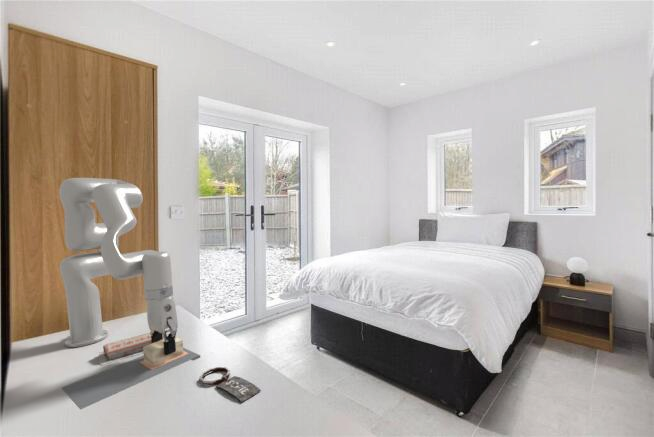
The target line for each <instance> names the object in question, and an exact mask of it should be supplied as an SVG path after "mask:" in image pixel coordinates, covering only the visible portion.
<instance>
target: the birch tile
mask: <svg viewBox="0 0 654 437" xmlns="http://www.w3.org/2000/svg"><path fill="white" fill-rule="evenodd" d="M175 337H176V336H175ZM163 342H165V340H164V339H163V340H160V341H157V342H154V343H152V344H149V345H146V346H144V347H143V352H144V353H143V355H144V361H145V362H146V363H148V364H149V365H151V366H153V367H154V366H156V365H159V364H161V363H163V362H166V361H168V360H170V359H173V358H175V357H178V356H180V355H182V354H183V348H184V343H183V339H181V338H179V337H176V339H175V345H176V351H175V352H173V353H171V354H168V355H164V344H163Z"/></svg>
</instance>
